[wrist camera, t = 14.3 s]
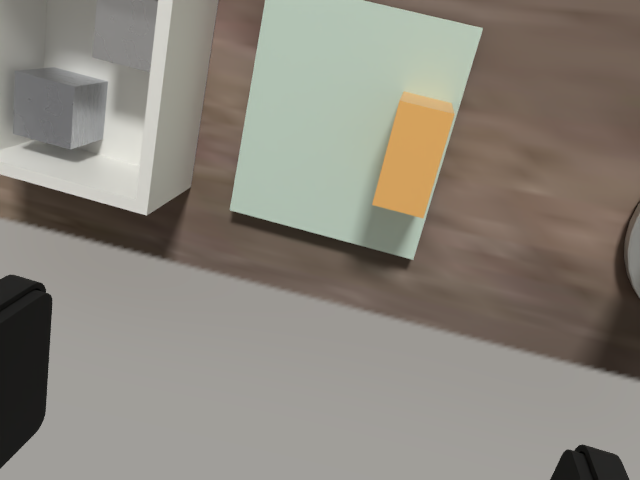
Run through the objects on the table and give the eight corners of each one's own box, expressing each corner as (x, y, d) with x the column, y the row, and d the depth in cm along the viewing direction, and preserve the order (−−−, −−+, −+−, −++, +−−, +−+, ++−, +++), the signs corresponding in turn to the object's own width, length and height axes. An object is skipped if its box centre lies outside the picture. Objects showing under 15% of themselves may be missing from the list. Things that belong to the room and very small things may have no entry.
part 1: (108, 81, 40) (74, 86, 36) (103, 138, 41) (70, 149, 38) (53, 67, 40) (14, 70, 37) (50, 124, 42) (13, 133, 38)
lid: (480, 28, 36) (490, 28, 30) (413, 251, 41) (410, 290, 35) (275, -20, 37) (244, -30, 31) (236, 203, 42) (203, 233, 36)
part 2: (190, 5, 37) (163, 2, 34) (181, 69, 39) (154, 73, 35) (130, -10, 38) (97, -14, 34) (124, 54, 39) (92, 57, 35)
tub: (221, -23, 37) (176, -34, 31) (190, 187, 42) (146, 215, 36) (46, -65, 38) (-33, -84, 32) (36, 144, 43) (-34, 164, 37)
